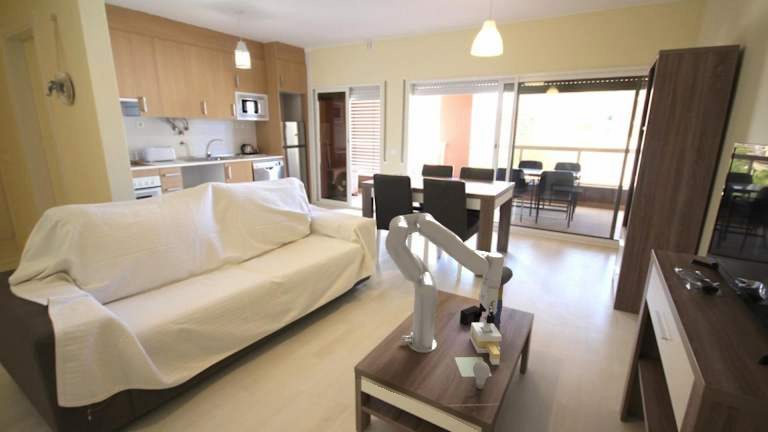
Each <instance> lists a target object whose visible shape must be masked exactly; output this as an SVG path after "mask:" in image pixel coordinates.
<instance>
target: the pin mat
mask: <svg viewBox="0 0 768 432" xmlns="http://www.w3.org/2000/svg"><path fill="white" fill-rule="evenodd" d="M454 360H455V363H456V365H457V367H458V370H459V373H460V375H461V377H462V378H466V377H469V378H470V377H471V378H472V377H475V375H474V373H473V366H474V364H475V363H476V362H478V361H483V362H485V360H484V358H483V356H473V357H472V356H470V357H469V356H467V357H465V356H464V357H457V356H456V357H454ZM488 377H492V373H491V372H490V374H489V376H488ZM475 378H476V377H475Z"/></svg>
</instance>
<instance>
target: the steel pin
mask: <svg viewBox="0 0 768 432" xmlns="http://www.w3.org/2000/svg"><path fill="white" fill-rule="evenodd" d="M481 318H482V323H484V325H483V333H490V326H491V323H486V320H487V316H486V315H485V316H482V317H481Z"/></svg>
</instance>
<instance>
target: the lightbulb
mask: <svg viewBox="0 0 768 432" xmlns="http://www.w3.org/2000/svg"><path fill="white" fill-rule="evenodd" d="M473 373H474V375H475V384H476V385H475V387H476V388H477V389H478V390H482V389H484V384H485V382H486V379H487V378H488V377H490V376H489V374H490V373H491V369H490V367H489V365H488V363H486V362H485V361H484V362H483V361H478V362H476V363H475V364H474V366H473Z"/></svg>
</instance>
